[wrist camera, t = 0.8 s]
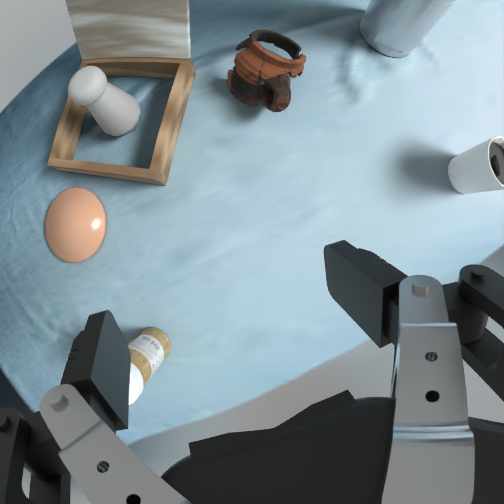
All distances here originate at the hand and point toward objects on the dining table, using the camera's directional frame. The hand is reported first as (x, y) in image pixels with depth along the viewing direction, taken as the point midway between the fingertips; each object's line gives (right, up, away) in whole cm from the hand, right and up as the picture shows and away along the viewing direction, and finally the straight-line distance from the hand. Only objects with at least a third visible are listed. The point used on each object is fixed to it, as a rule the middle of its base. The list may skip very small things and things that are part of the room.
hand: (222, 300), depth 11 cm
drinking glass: (+32, +13, +27) cm, 43 cm away
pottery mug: (+3, +24, +26) cm, 36 cm away
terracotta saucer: (-23, +5, +27) cm, 36 cm away
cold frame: (-15, +22, +26) cm, 38 cm away
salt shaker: (-16, +19, +27) cm, 36 cm away
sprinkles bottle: (-12, -10, +28) cm, 32 cm away
